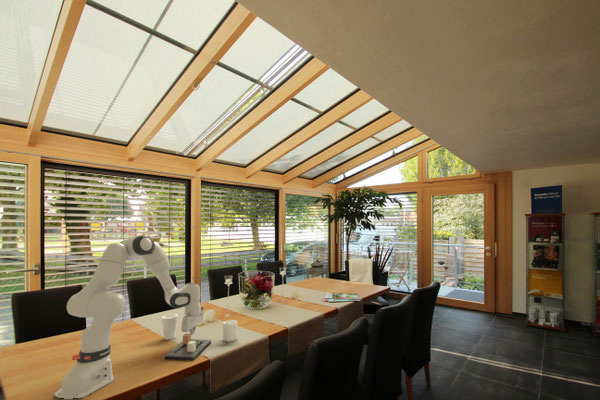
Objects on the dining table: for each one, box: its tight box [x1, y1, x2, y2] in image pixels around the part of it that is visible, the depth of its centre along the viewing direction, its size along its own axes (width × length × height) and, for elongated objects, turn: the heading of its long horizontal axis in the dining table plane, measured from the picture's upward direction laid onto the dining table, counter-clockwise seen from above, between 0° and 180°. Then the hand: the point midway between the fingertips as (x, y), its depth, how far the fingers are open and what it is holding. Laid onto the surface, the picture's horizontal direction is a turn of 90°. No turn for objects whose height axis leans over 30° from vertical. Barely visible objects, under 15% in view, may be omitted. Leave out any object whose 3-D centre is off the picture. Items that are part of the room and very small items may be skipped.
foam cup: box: [161, 313, 179, 341], centre depth 190 cm, size 10×9×13 cm
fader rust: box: [182, 333, 192, 345], centre depth 174 cm, size 4×3×5 cm
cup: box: [222, 319, 238, 343], centre depth 187 cm, size 8×12×10 cm
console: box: [163, 338, 212, 361], centre depth 169 cm, size 22×16×2 cm
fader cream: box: [187, 341, 196, 353], centre depth 163 cm, size 4×3×5 cm
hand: (192, 334), depth 181 cm, fingers closed
